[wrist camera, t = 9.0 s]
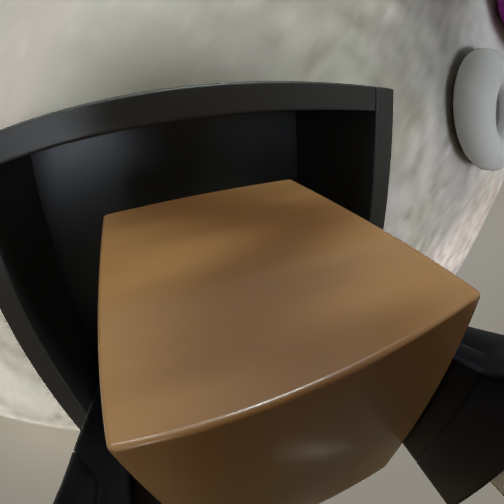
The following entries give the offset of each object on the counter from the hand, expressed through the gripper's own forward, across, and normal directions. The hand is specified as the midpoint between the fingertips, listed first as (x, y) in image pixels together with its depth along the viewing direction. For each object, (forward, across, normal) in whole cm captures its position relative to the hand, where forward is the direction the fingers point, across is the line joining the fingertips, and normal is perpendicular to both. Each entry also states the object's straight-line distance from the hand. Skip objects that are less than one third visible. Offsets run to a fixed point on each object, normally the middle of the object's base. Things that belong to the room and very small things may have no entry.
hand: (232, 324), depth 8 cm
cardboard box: (+2, 0, 0) cm, 2 cm away
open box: (+7, 0, 0) cm, 7 cm away
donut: (+7, -23, -6) cm, 25 cm away
